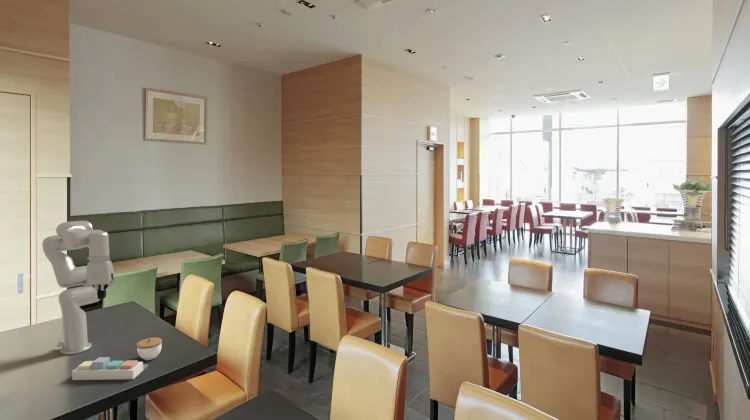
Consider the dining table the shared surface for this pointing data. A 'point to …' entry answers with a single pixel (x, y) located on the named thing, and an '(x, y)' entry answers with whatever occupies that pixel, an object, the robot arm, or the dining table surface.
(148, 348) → the lidded jar
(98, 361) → the key
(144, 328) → the dining table surface
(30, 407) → the dining table surface
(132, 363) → the key
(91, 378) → the keypad
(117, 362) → the key
